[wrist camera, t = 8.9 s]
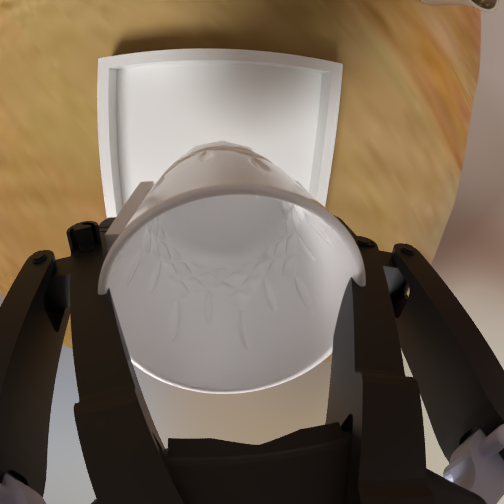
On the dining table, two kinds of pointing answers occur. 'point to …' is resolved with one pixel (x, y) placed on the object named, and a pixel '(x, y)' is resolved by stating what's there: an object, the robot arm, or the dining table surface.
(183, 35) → the dining table surface
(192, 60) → the tray
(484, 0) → the flower pot
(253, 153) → the white cup
